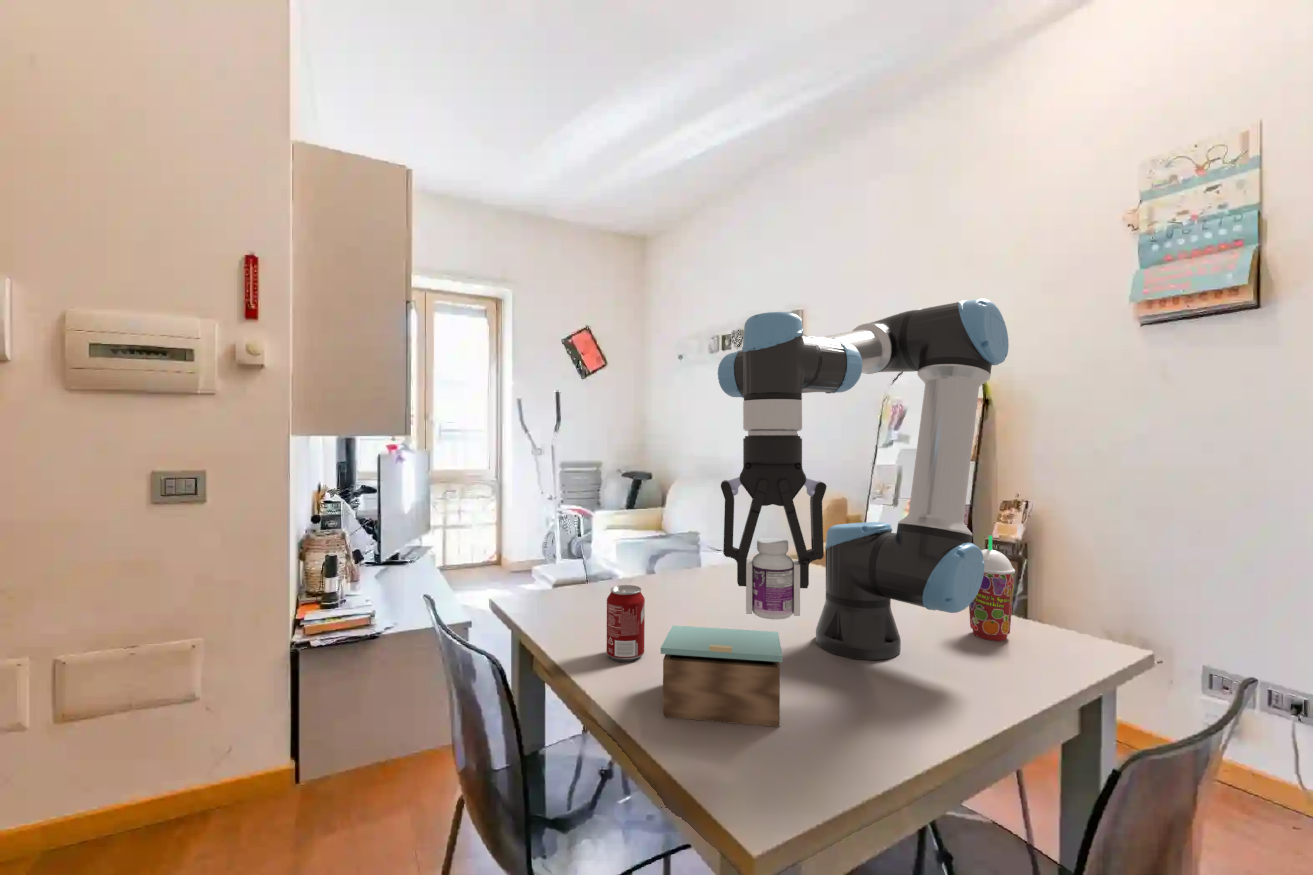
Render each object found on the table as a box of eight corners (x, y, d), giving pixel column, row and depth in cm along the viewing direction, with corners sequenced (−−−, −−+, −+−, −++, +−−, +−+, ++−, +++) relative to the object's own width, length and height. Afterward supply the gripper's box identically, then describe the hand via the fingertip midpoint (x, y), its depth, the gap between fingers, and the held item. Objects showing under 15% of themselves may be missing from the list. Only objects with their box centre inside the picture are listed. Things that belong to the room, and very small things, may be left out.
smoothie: (968, 640, 112) (969, 537, 112) (963, 627, 120) (964, 531, 120) (1018, 646, 109) (1019, 540, 109) (1010, 632, 116) (1010, 533, 116)
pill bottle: (747, 608, 77) (746, 536, 77) (785, 606, 78) (785, 536, 78) (758, 621, 72) (758, 544, 72) (799, 619, 73) (799, 543, 73)
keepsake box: (775, 688, 90) (776, 637, 90) (779, 726, 78) (780, 667, 78) (674, 681, 92) (674, 631, 92) (662, 716, 80) (663, 659, 80)
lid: (778, 636, 89) (778, 627, 90) (782, 662, 77) (782, 651, 77) (672, 630, 92) (672, 621, 92) (660, 653, 80) (660, 643, 80)
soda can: (639, 664, 99) (639, 595, 99) (601, 661, 100) (602, 592, 100) (647, 650, 105) (648, 585, 105) (612, 647, 107) (612, 583, 107)
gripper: (840, 433, 77) (839, 605, 77) (703, 433, 80) (703, 600, 80) (850, 433, 70) (850, 624, 70) (700, 433, 72) (700, 617, 73)
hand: (772, 611), depth 75 cm, fingers closed on pill bottle, 5 cm apart
